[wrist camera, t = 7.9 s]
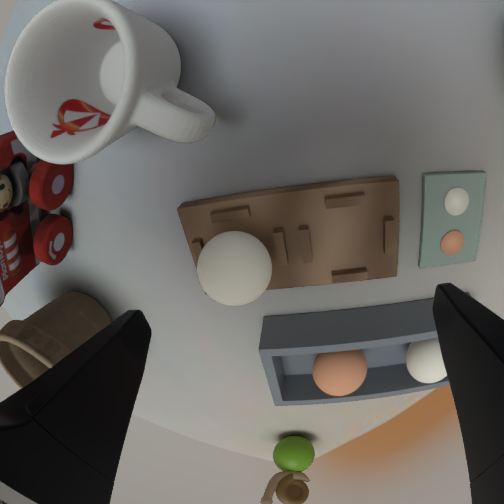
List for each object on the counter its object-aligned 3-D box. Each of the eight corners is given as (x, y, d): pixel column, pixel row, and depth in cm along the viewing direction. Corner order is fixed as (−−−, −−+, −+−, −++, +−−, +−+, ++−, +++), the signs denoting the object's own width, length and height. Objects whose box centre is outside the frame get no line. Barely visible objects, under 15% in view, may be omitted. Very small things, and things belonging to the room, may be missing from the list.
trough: (468, 292, 21) (484, 321, 18) (449, 354, 25) (459, 382, 22) (263, 316, 25) (258, 349, 22) (278, 375, 29) (275, 405, 26)
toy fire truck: (78, 127, 19) (-34, 179, 10) (76, 262, 25) (9, 341, 16) (19, 117, 18) (-79, 160, 9) (25, 240, 25) (-42, 304, 16)
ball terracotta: (361, 361, 26) (368, 402, 22) (313, 367, 27) (314, 408, 23) (364, 327, 24) (373, 370, 20) (309, 333, 24) (311, 378, 21)
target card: (483, 170, 16) (487, 173, 16) (473, 257, 20) (476, 262, 19) (422, 173, 17) (425, 176, 17) (418, 265, 21) (420, 269, 20)
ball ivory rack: (268, 214, 19) (259, 252, 15) (279, 274, 21) (274, 319, 18) (199, 223, 20) (177, 261, 16) (217, 279, 22) (201, 322, 19)
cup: (264, 63, 15) (241, 49, 9) (199, 171, 19) (146, 228, 13) (119, 1, 13) (36, -17, 7) (74, 103, 18) (-9, 130, 11)
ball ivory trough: (451, 315, 22) (468, 354, 18) (441, 350, 24) (454, 387, 20) (404, 323, 23) (416, 365, 19) (398, 357, 25) (406, 397, 21)
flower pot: (46, 246, 25) (-21, 314, 16) (146, 304, 26) (96, 395, 18) (46, 318, 31) (2, 378, 22) (126, 365, 32) (92, 436, 24)
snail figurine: (278, 424, 35) (268, 510, 24) (322, 433, 35) (319, 515, 25) (262, 438, 37) (250, 515, 27) (303, 447, 38) (297, 520, 28)
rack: (394, 175, 18) (401, 184, 16) (393, 268, 21) (398, 281, 20) (182, 203, 21) (173, 212, 19) (208, 286, 24) (203, 299, 23)
